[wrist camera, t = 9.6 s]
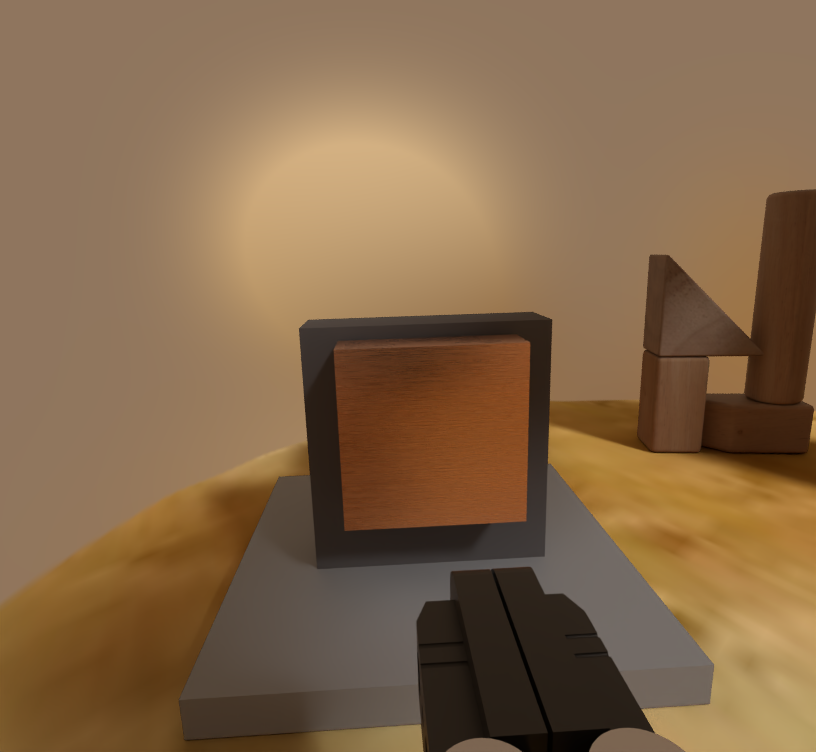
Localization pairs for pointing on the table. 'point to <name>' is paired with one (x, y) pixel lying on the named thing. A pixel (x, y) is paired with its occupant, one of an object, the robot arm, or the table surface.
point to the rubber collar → (325, 451)
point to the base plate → (402, 626)
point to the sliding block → (433, 430)
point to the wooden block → (734, 347)
